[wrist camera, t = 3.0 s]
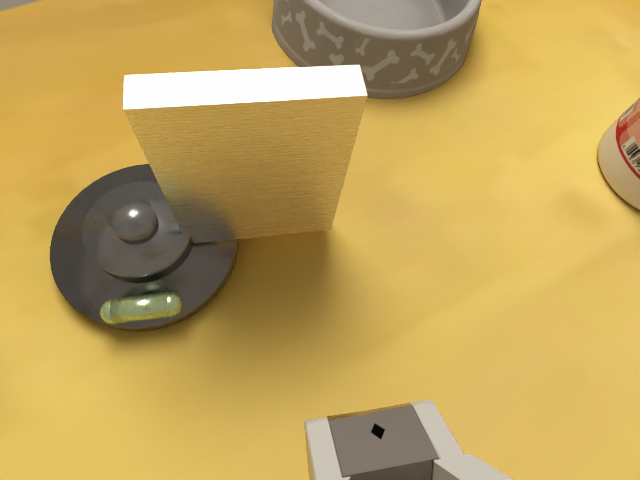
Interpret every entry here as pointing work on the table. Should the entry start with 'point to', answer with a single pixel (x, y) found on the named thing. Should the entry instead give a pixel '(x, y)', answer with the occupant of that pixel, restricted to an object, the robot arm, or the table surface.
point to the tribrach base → (133, 298)
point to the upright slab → (226, 162)
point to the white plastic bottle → (623, 155)
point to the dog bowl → (380, 39)
